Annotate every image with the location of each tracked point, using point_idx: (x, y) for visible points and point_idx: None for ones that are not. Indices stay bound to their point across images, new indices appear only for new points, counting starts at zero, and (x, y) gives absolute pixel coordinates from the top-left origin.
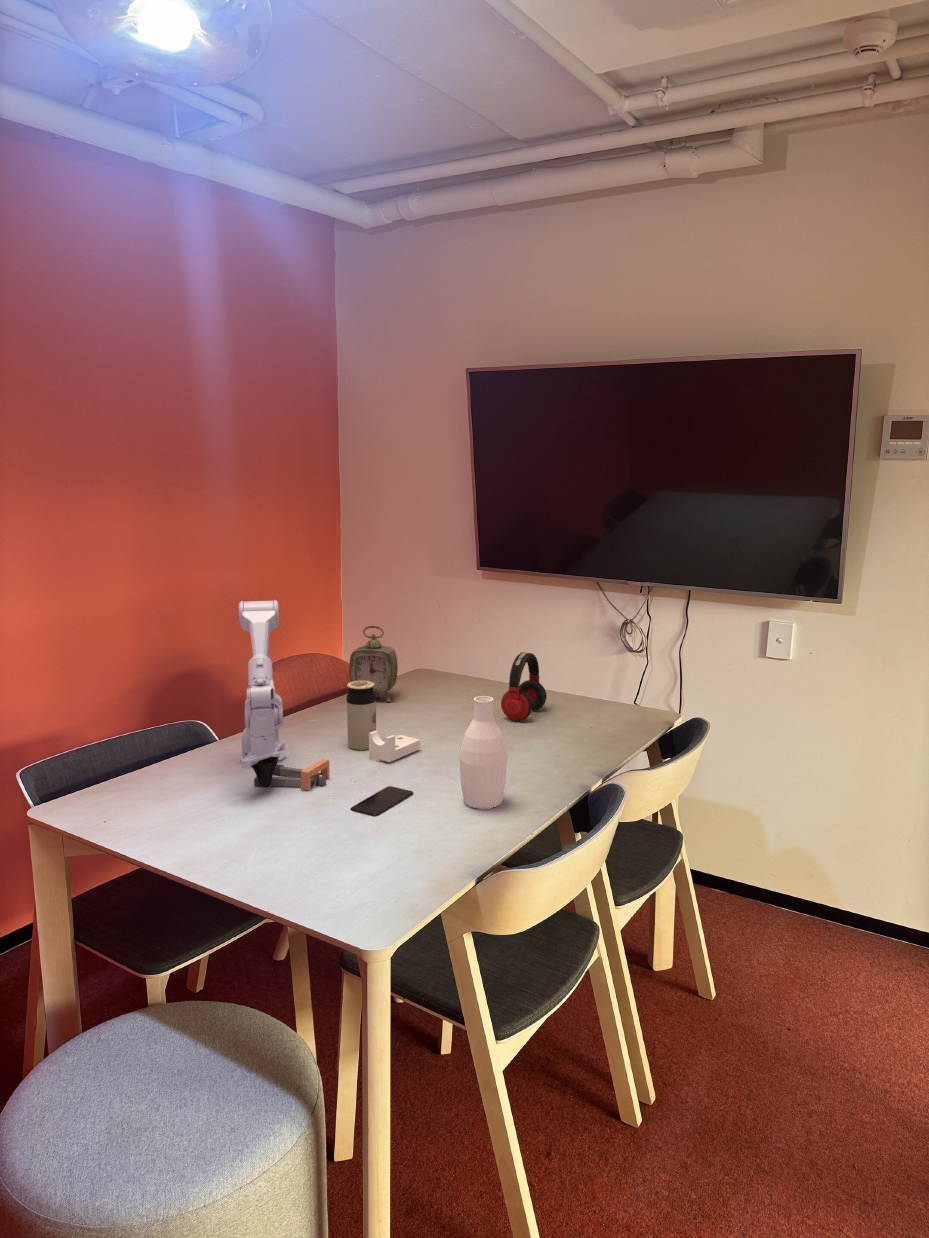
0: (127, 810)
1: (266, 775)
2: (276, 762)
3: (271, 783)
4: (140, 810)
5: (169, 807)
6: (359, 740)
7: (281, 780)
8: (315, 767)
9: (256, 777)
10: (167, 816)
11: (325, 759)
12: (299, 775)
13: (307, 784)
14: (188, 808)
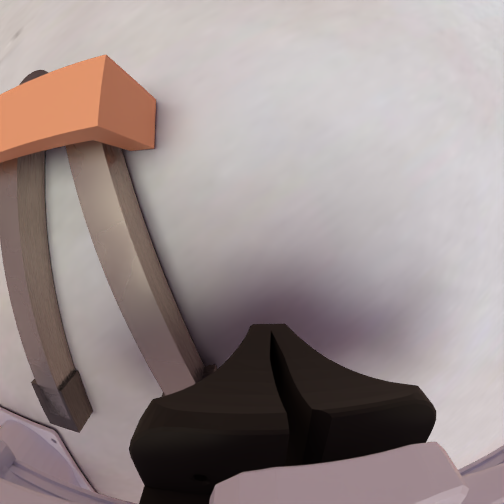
0: None
1: (334, 362)
2: (199, 400)
3: (192, 349)
4: None
5: (454, 457)
6: None
7: (160, 302)
8: (9, 96)
9: None
10: (498, 419)
11: None
12: (38, 266)
13: (143, 94)
14: (463, 427)
